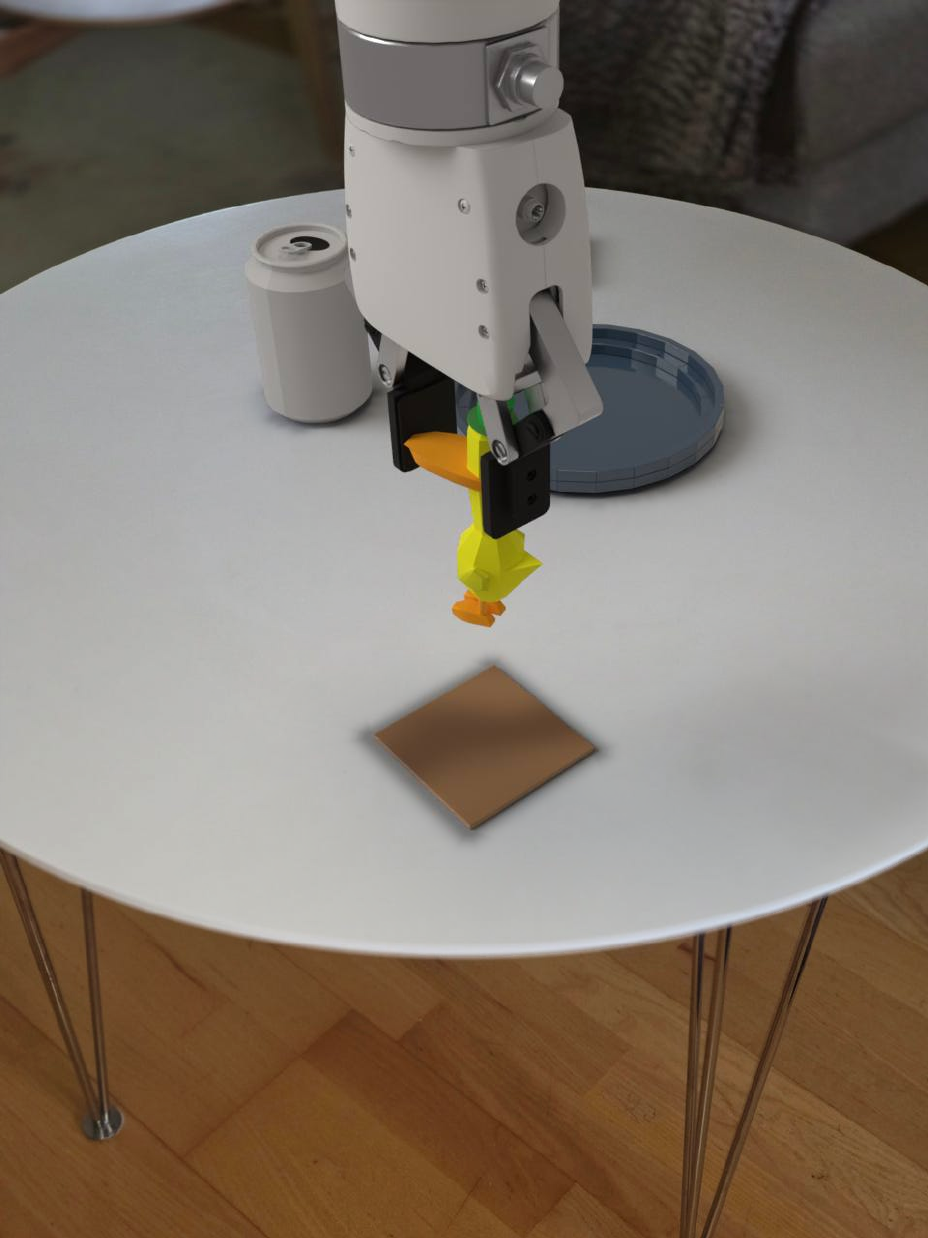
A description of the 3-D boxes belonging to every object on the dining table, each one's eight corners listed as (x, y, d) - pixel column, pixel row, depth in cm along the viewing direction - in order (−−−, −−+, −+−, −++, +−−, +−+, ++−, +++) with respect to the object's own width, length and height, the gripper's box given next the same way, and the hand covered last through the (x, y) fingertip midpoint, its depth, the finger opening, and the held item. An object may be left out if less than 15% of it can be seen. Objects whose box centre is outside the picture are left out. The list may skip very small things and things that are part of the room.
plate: (779, 425, 90) (783, 397, 89) (573, 537, 82) (573, 508, 81) (593, 324, 101) (594, 297, 100) (395, 414, 93) (392, 386, 92)
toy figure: (394, 607, 64) (382, 388, 55) (434, 563, 66) (429, 347, 58) (521, 658, 61) (529, 438, 53) (558, 611, 63) (571, 392, 55)
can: (395, 389, 96) (380, 228, 88) (331, 442, 91) (310, 277, 83) (309, 363, 99) (288, 205, 91) (244, 413, 94) (216, 251, 86)
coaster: (594, 752, 69) (594, 746, 69) (470, 831, 65) (470, 826, 65) (494, 669, 74) (494, 664, 73) (373, 739, 70) (372, 734, 70)
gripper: (707, 101, 44) (673, 547, 55) (392, -16, 54) (420, 381, 66) (528, 168, 40) (532, 628, 52) (228, 30, 51) (289, 439, 63)
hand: (470, 486), depth 59 cm, fingers closed on toy figure, 5 cm apart
